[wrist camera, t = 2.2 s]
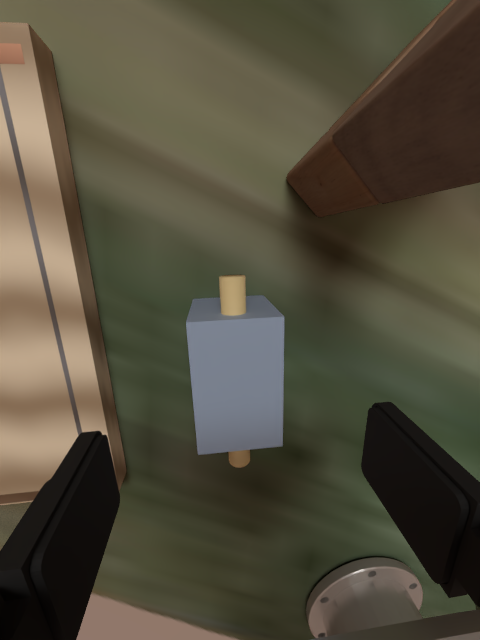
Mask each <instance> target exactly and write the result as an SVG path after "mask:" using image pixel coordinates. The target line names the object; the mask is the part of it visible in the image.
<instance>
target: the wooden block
mask: <svg viewBox="0 0 480 640" xmlns="http://www.w3.org/2000/svg"><path fill="white" fill-rule="evenodd" d="M286 178H287V181H288V183H289V184H290V185H291V186H292V187H293V188H294V190H295V191H296V192H297V193H298V194H299V196H300V197H301V198H302V199H303V200H304V202H305V203H306V204H307V205H308V206H309V207H310V209H311V210H312V211H313V212H314V213H315V215H316V216H318V217H324V216H328V215H333V214H337V213H342V212H346V211H350V210H355V209H359V208H364V207H368V206H372V205H376V204H378V203H382V204H384V203H389V202H393V201H398V200H402V199H407V198H411V197H416V196H420V195H425V194H429V193H434V192H438V191H443V190H447V189H452V188H456V187H461V186H465V185H470V184H474V183H479V182H480V0H452V1H451V2H450V3H449V4H448V5H447V6H446V7H445V8H444V9H443V10H442V11H441V12H440V13H439V14H438V15H437V16H436V17H435V18H434V19H433V20H432V21H431V22H430V23H429V24H428V25H427V26H426V27H425V28H424V29H423V30H422V31H421V32H420V33H419V34H418V35H417V36H416V37H415V38H414V39H413V40H412V41H411V42H410V43H409V44H408V45H407V46H406V47H405V48H404V49H403V51H402V52H401V53H400V54H399V55H398V56H397V57H396V58H395V59H394V60H393V61H392V62H391V63H390V64H389V66H388V67H387V68H386V69H385V70H384V71H383V72H382V73H381V74H380V75H379V76H378V77H377V78H376V80H375V81H374V82H373V83H372V84H371V85H370V86H369V87H368V88H367V89H366V90H365V91H364V92H363V93H362V95H361V96H360V97H359V98H358V99H357V100H356V101H355V102H354V103H353V104H352V105H351V106H350V107H349V108H348V110H347V111H346V112H345V113H344V114H343V115H342V116H341V117H340V118H339V119H338V120H337V121H336V122H335V123H334V125H333V126H332V127H331V128H330V129H329V131H328V132H327V133H326V134H325V135H324V136H322V137H321V138H320V140H319V141H318V142H317V143H316V144H315V145H314V146H313V147H312V148H311V149H310V150H309V151H308V152H307V154H306V155H305V156H304V157H303V158H302V159H301V160H300V161H299V162H298V163H297V164H296V165H295V166H294V167H293V169H292V170H291V171H290V172H289V173H288V175H287V177H286Z"/></svg>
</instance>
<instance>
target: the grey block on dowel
mask: <svg viewBox="0 0 480 640" xmlns="http://www.w3.org/2000/svg"><path fill="white" fill-rule="evenodd" d="M219 284H220V298H203V299H193V301H192V305H191V308H190V311H189V314H188V318H187V321H186V328H187V339H188V350H189V361H190V372H191V384H192V395H193V406H194V417H195V428H196V439H197V450H198V455H202V454H212V453H222V452H228V453H229V463H230V464H231V465H232V466H234V467H237V468H241V467H245V466H246V465H248V464H249V462H250V450H251V449H261V448H271V447H281V446H283V379H284V316H283V315H282V314H281V313H280V312H279V311H278V310H277V309H276V308H275V307H274V306H273V305H272V304H271V303H270V302H269V301H268V300H267V299H266V298H265V297H264V296H263V295H260V296H246V290H245V275H224V276H219Z"/></svg>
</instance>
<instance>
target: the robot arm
mask: <svg viewBox="0 0 480 640" xmlns="http://www.w3.org/2000/svg"><path fill="white" fill-rule="evenodd" d="M361 467H362V472H363V474H364V476H365V478H366V479H367V481H368V482H369V484H370V485H371V487H372V489H373V490H374V492H375V493H376V495H377V496H378V498H379V499H380V501H381V502H382V504H383V505H384V507H385V508H386V510H387V512H388V513H389V515H390V516H391V518H392V519H393V521H394V522H395V524H396V525H397V527H398V528H399V530H400V531H401V533H402V534H403V536H404V538H405V539H406V541H407V542H408V544H409V545H410V547H411V548H412V550H413V551H414V553H415V554H416V556H417V557H418V559H419V561H420V562H421V564H422V565H423V567H424V568H425V570H426V571H427V573H428V574H429V576H430V577H431V579H432V580H433V581H434V582H435V583H437V584H440V585H441V587H442V588H443V590H444V591H445V593H446V594H447V596H448V597H449V598H451V597H457V596H462V595H467V593H468V595H469V596H470V597H471V599H472V600H473V601H474V603H475V605H476V610H473V611H466V612H460V613H453V614H448V615H442V616H436V617H431V618H425V619H423V617H422V616H421V614H420V612H419V609H420V607H421V604H422V598H423V591H422V586H421V584H420V582H419V581H418V579H417V577H416V576H415V574H414V573H413V571H412V570H411V569H410V568H409V567H408V566H407V565H405V564H404V563H402V562H399V561H397V560H394V559H390V558H382V557H373V558H364V559H360V560H356V561H353V562H350V563H348V564H345V565H343V566H341V567H339V568H337V569H335V570H334V571H332V572H331V573H329V574H328V575H327V576H325V577H324V578H323V579H322V580H321V581H320V582H319V583H318V584H317V585H316V587H315V588H314V589H313V591H312V592H311V594H310V597H309V599H308V601H307V606H306V616H307V620H308V624H309V627H310V630H311V632H312V634H313V636H314V637H315V638H316V639H310V640H480V482H479V481H478V480H476V479H475V478H474V477H473V476H472V475H471V474H470V473H469V472H468V471H467V470H465V469H464V468H463V467H462V466H461V465H460V464H459V463H458V462H457V461H456V460H454V459H453V458H452V457H451V456H450V455H449V454H448V453H447V452H446V451H445V450H443V449H442V448H441V447H440V446H439V445H438V444H437V443H436V442H435V441H434V440H432V439H431V438H430V437H429V436H428V435H427V434H426V433H425V432H424V431H423V430H421V429H420V428H419V427H418V426H417V425H416V424H415V423H414V422H413V421H412V420H410V419H409V418H408V417H407V416H406V415H405V414H404V413H403V412H402V411H401V410H399V409H398V408H397V407H396V406H395V405H394V404H393V403H391V402H383V403H375V404H373V405H372V408H370V409H369V411H368V417H367V425H366V433H365V440H364V448H363V456H362V463H361ZM119 503H120V493H119V489H118V484H117V479H116V474H115V470H114V465H113V460H112V456H111V451H110V446H109V441H108V437H107V435H102V433H101V431H91V432H82V433H80V434H79V436H78V437H77V439H76V440H75V442H74V443H73V445H72V447H71V448H70V450H69V451H68V453H67V454H66V456H65V458H64V459H63V461H62V462H61V464H60V465H59V467H58V469H57V470H56V472H55V473H54V475H53V476H52V478H51V479H50V480H48V481H47V482H46V483H45V484H44V485H43V486H42V488H41V489H40V491H39V492H38V494H37V496H36V497H35V499H34V500H33V502H32V503H31V505H30V506H29V508H28V509H27V511H26V512H25V514H24V516H23V517H22V519H21V520H20V522H19V523H18V525H17V526H16V528H15V529H14V531H13V532H12V534H11V536H10V537H9V539H8V540H7V542H6V543H5V545H4V546H3V548H2V549H1V551H0V640H76V638H77V635H78V632H79V629H80V626H81V623H82V619H83V617H84V614H85V611H86V607H87V604H88V601H89V598H90V595H91V592H92V589H93V586H94V583H95V579H96V576H97V573H98V570H99V567H100V564H101V561H102V558H103V555H104V551H105V548H106V545H107V542H108V539H109V536H110V533H111V530H112V527H113V523H114V520H115V517H116V514H117V511H118V508H119Z"/></svg>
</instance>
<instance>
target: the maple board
mask: <svg viewBox="0 0 480 640" xmlns="http://www.w3.org/2000/svg"><path fill="white" fill-rule="evenodd" d="M91 431H101V433H102V435H107V437H108V441H109V446H110V451H111V456H112V460H113V465H114V470H115V474H116V479H117V484H118V489H119V491H120V488H121V485H122V482H123V480H124V477H125V474H126V472H127V469H126V463H125V458H124V452H123V447H122V441H121V436H120V430H119V424H118V419H117V413H116V408H115V402H114V397H113V391H112V386H111V380H110V374H109V369H108V363H107V358H106V352H105V347H104V341H103V336H102V330H101V325H100V319H99V313H98V308H97V302H96V297H95V291H94V286H93V280H92V275H91V269H90V263H89V258H88V252H87V247H86V241H85V236H84V230H83V225H82V219H81V213H80V208H79V202H78V197H77V191H76V186H75V180H74V175H73V169H72V163H71V158H70V152H69V147H68V141H67V136H66V130H65V125H64V119H63V113H62V108H61V102H60V97H59V91H58V86H57V80H56V75H55V69H54V64H53V58H52V52H51V50H50V49H49V48H48V47H47V46H46V44H45V43H44V42H43V41H42V40H41V38H40V37H39V36H38V35H37V34H36V32H35V31H34V30H33V29H32V28H31V26H30V25H29V24H28V23H8V22H0V505H6V504H15V503H24V502H33V500H34V499H35V497H36V496H37V494H38V492H39V491H40V489H41V488H42V486H43V485H44V484H45V483H46V482H47V481H48V480H50V479H51V478H52V476H53V475H54V473H55V472H56V470H57V469H58V467H59V465H60V464H61V462H62V461H63V459H64V458H65V456H66V454H67V453H68V451H69V450H70V448H71V447H72V445H73V443H74V442H75V440H76V439H77V437H78V436H79V434H80V433H82V432H91Z"/></svg>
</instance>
